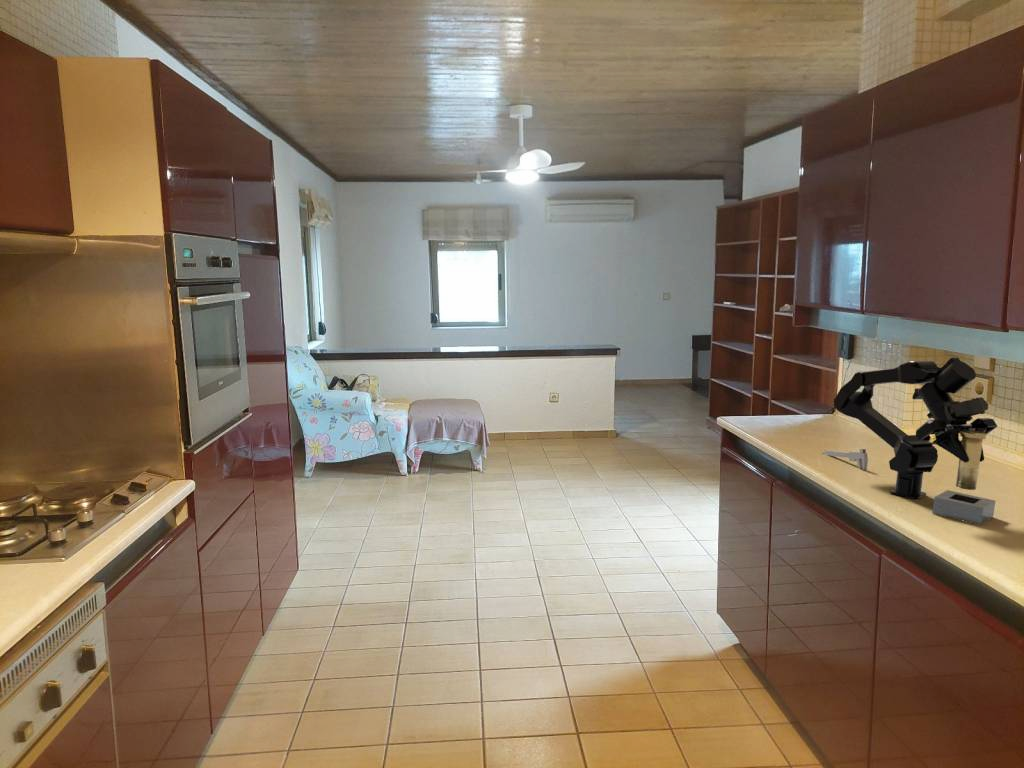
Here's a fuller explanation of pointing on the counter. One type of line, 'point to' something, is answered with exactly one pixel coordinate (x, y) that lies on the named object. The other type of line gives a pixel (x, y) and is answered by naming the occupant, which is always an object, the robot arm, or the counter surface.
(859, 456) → the caliper
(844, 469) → the counter surface
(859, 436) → the counter surface
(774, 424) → the counter surface
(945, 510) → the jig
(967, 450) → the flanged metal cylinder
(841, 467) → the counter surface
